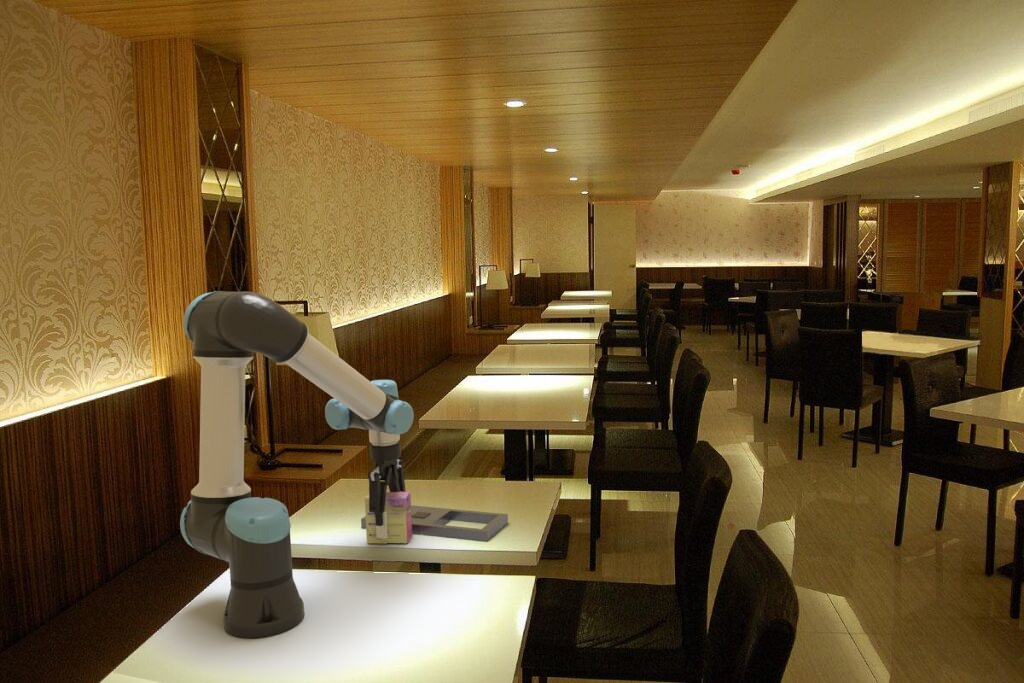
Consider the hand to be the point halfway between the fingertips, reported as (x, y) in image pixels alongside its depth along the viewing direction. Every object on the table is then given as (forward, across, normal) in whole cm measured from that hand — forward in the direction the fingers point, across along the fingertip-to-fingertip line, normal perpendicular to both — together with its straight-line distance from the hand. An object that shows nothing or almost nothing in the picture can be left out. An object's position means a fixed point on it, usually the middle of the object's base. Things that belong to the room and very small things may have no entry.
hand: (389, 532), depth 200 cm
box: (+2, 0, 0) cm, 2 cm away
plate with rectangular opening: (+2, +13, -6) cm, 14 cm away
